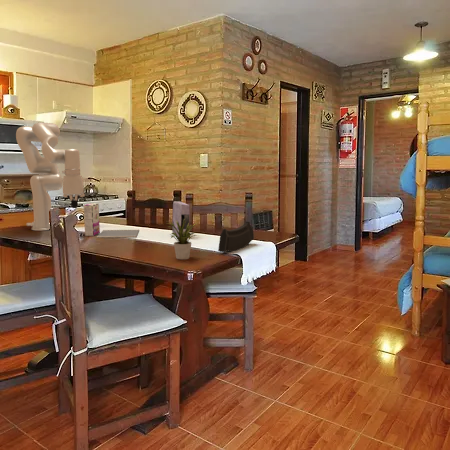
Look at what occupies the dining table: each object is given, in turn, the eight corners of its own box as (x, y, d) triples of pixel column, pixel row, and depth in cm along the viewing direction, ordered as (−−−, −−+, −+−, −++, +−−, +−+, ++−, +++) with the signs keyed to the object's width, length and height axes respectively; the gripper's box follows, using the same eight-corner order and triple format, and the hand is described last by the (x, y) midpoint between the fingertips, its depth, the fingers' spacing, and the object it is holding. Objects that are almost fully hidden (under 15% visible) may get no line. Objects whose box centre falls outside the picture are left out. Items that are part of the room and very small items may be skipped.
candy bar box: (91, 233, 244) (90, 203, 242) (100, 233, 244) (99, 203, 242) (84, 236, 233) (83, 204, 231) (93, 236, 233) (92, 205, 231)
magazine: (222, 234, 184) (250, 207, 208) (215, 233, 185) (244, 207, 209) (227, 270, 190) (254, 240, 214) (220, 270, 192) (248, 240, 216)
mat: (96, 238, 227) (96, 236, 227) (103, 231, 251) (103, 230, 251) (136, 237, 230) (136, 236, 230) (139, 230, 253) (139, 229, 253)
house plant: (155, 260, 175) (154, 218, 173) (171, 253, 188) (171, 215, 186) (187, 263, 170) (187, 220, 168) (202, 256, 183) (202, 216, 181)
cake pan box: (190, 238, 229) (190, 204, 226) (180, 238, 227) (180, 204, 225) (180, 233, 246) (180, 201, 244) (172, 233, 245) (171, 201, 242)
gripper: (56, 173, 229) (58, 208, 231) (86, 172, 230) (87, 208, 233) (59, 173, 236) (61, 207, 238) (88, 172, 238) (90, 207, 240)
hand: (74, 207), depth 235 cm, fingers closed
